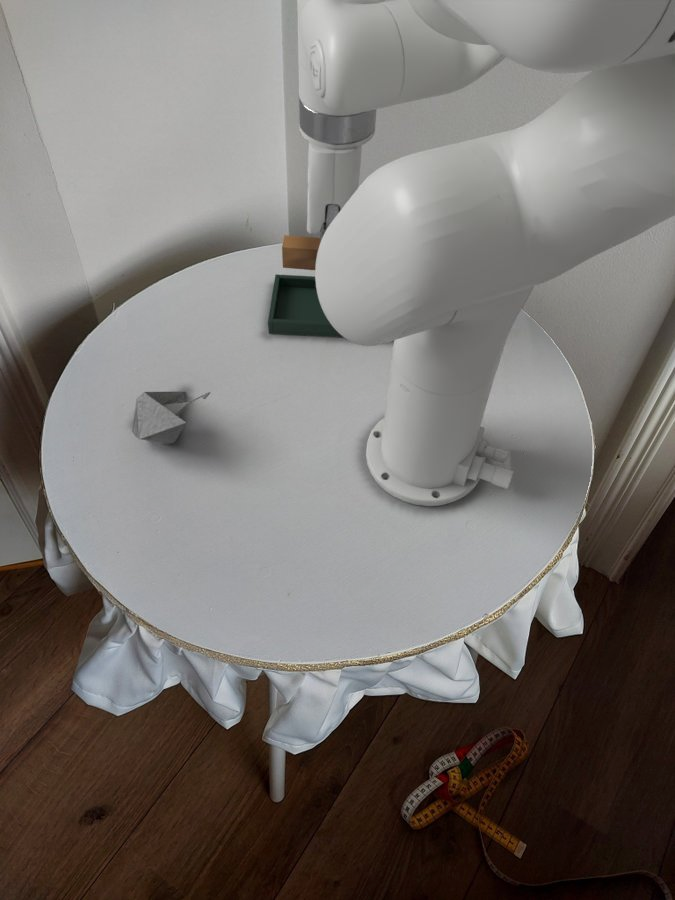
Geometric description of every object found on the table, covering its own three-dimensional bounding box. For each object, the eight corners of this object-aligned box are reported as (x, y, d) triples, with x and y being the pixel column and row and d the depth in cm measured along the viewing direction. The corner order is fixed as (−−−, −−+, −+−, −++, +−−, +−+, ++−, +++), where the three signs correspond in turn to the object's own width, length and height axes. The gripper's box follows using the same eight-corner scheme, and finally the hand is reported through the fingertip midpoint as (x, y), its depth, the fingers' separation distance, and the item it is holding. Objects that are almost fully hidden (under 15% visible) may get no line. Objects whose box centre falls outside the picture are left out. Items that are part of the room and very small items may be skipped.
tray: (409, 293, 93) (410, 281, 92) (409, 341, 88) (411, 329, 87) (276, 286, 94) (275, 274, 92) (268, 333, 88) (267, 321, 87)
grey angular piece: (119, 389, 81) (193, 352, 81) (149, 437, 84) (220, 401, 84) (112, 424, 70) (197, 381, 70) (146, 477, 73) (228, 435, 73)
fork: (281, 274, 84) (280, 253, 82) (286, 249, 87) (285, 229, 84) (397, 283, 84) (399, 262, 81) (398, 259, 87) (401, 238, 84)
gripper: (306, 69, 75) (307, 217, 90) (291, 161, 65) (295, 311, 80) (378, 73, 75) (367, 221, 90) (373, 166, 65) (362, 315, 80)
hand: (333, 262), depth 85 cm, fingers closed on fork, 4 cm apart
